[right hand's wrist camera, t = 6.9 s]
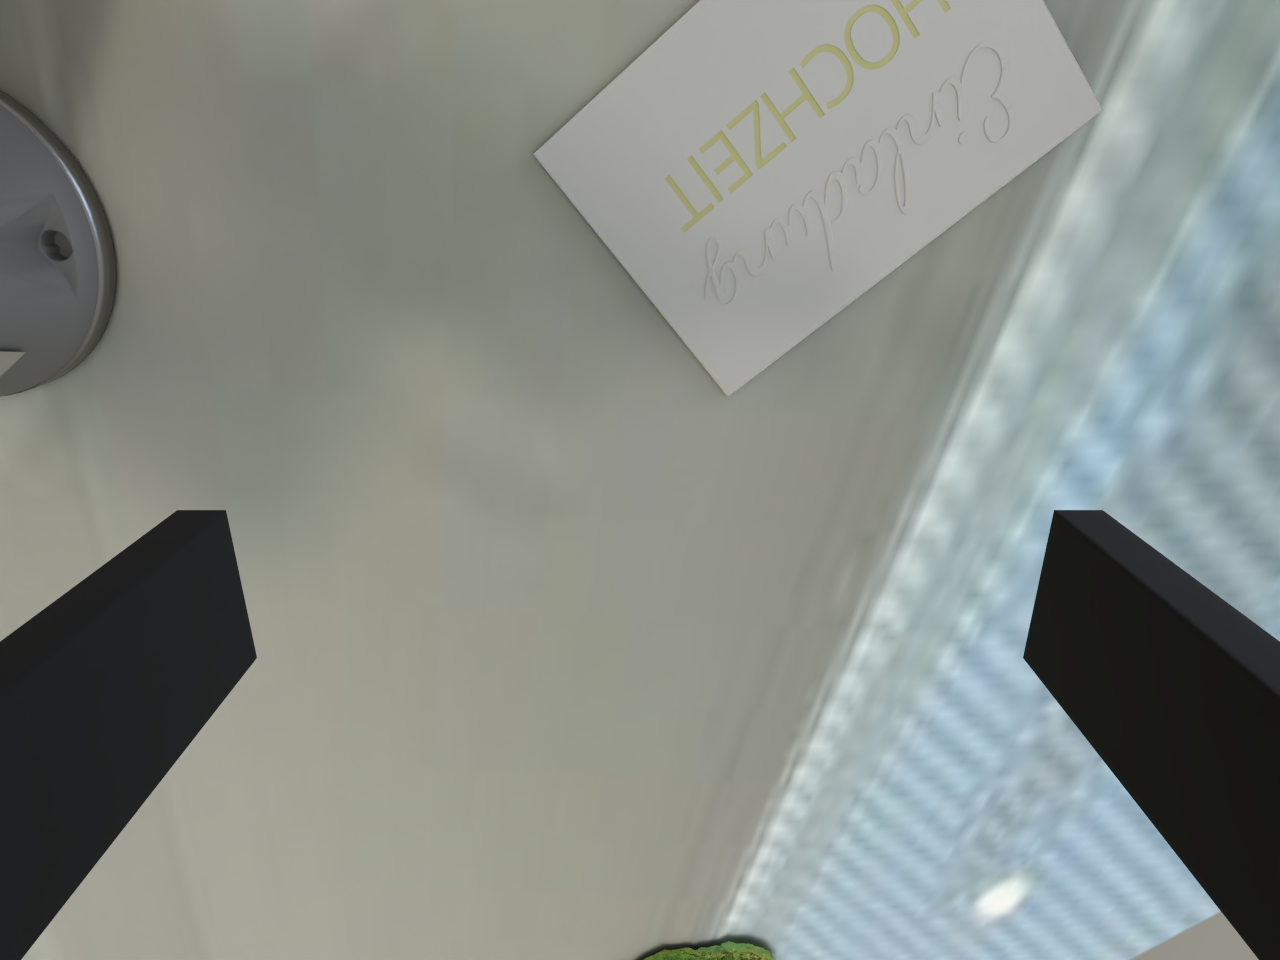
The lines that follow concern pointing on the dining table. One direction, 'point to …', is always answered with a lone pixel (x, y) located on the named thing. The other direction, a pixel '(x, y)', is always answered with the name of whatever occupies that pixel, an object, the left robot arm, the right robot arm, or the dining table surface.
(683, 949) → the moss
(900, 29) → the invitation card
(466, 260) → the dining table surface
